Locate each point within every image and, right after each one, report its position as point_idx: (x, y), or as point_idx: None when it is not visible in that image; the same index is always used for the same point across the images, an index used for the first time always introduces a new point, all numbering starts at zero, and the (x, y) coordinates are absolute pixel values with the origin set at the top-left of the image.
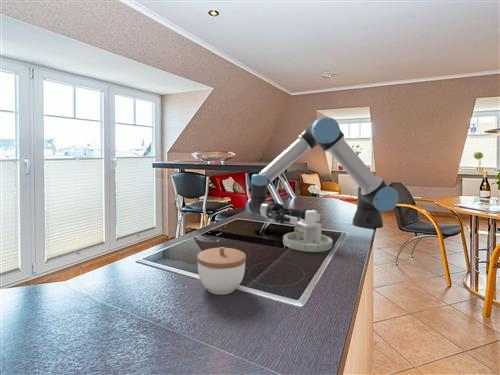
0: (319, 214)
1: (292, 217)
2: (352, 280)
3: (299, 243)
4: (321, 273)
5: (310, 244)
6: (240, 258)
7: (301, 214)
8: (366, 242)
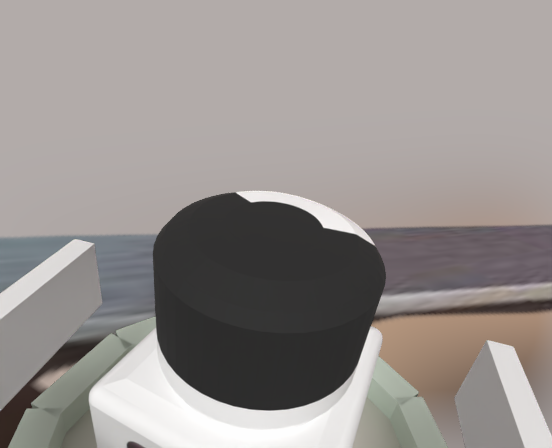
0: (83, 243)
1: (538, 408)
2: (464, 233)
3: (434, 435)
4: (522, 287)
5: (378, 369)
6: None
7: (369, 324)
8: (10, 241)
